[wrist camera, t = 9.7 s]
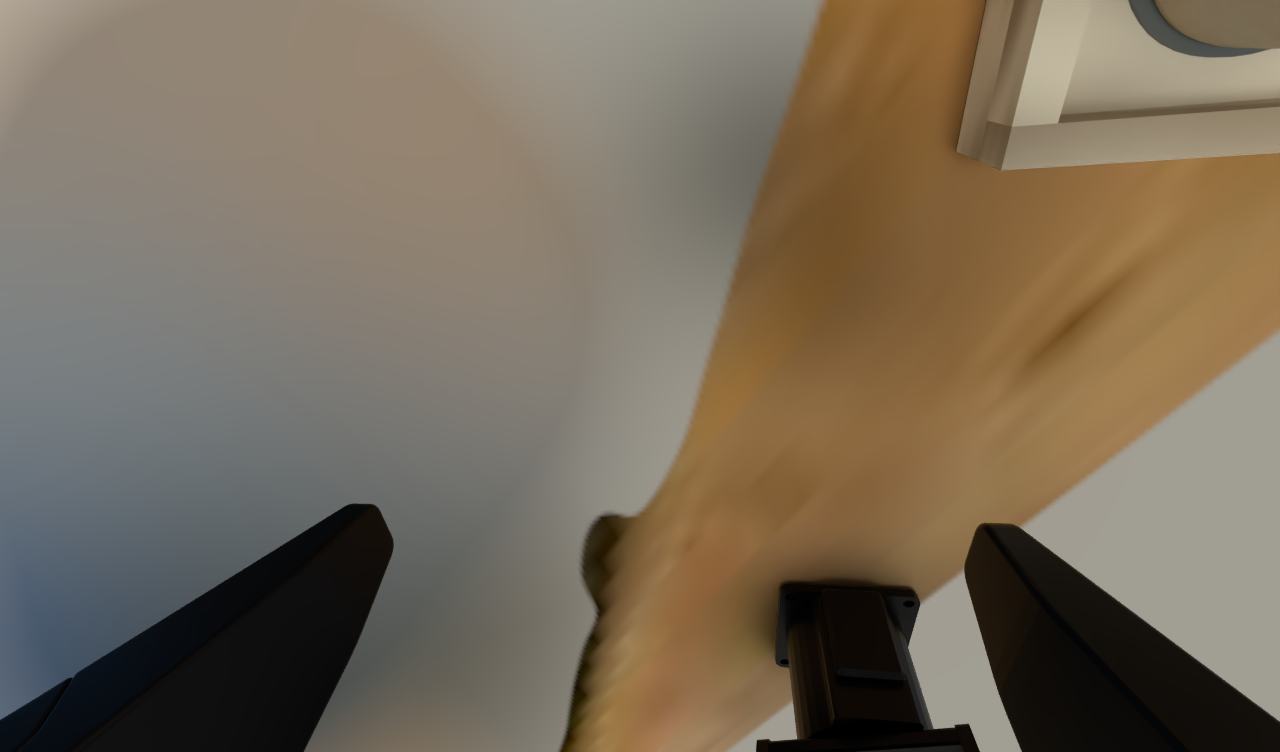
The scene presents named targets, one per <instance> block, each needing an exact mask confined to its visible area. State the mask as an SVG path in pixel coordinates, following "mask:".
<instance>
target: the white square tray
mask: <svg viewBox="0 0 1280 752" xmlns="http://www.w3.org/2000/svg"><path fill="white" fill-rule="evenodd" d="M956 152H958V153H961V154H963V155H966V156H968V157H970V158H973V159H975V160H977V161H980V162H982V163H985V164H987V165H989V166H992V167H994V168H997V169H999V170H1016V169H1032V168H1048V167H1063V166H1079V165H1095V164H1111V163H1127V162H1142V161H1158V160H1174V159H1190V158H1205V157H1221V156H1237V155H1253V154H1269V153H1280V49H1261V48H1232V47H1220V46H1216V45H1212V44H1208V43H1204V42H1200V41H1197V40H1194V39H1192V38H1190V37H1188V36H1185V35H1183V34H1182V33H1181V32H1179V31H1178V30H1176V29H1175V28H1173V27H1172V26H1171V25H1170V24H1169V23H1168V21H1167V20H1166V19H1165V18H1164V17H1163V16H1162V14H1161V12H1160V11H1159V9H1158V8H1157V6H1156V4H1155V1H1154V0H987V1H986V6H985V11H984V16H983V21H982V26H981V31H980V36H979V41H978V46H977V51H976V56H975V61H974V66H973V71H972V76H971V81H970V86H969V90H968V95H967V100H966V105H965V110H964V115H963V120H962V125H961V130H960V135H959V140H958V145H957V150H956Z"/></svg>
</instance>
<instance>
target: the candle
mask: <svg viewBox="0 0 1280 752" xmlns="http://www.w3.org/2000/svg"><path fill="white" fill-rule="evenodd" d="M1154 1H1155V4H1156V6H1157V8H1158V9H1159V11H1160V12H1161V14H1162V16H1163V17H1164V18H1165V19H1166V20H1167V21H1168V23H1169V24H1170V25H1171V26H1172V27H1173V28H1175V29H1176V30H1178V31H1179V32H1181V33H1182V34H1183V35H1185V36H1188V37H1190V38H1192V39H1194V40H1197V41H1200V42H1204V43H1208V44H1212V45H1216V46H1220V47H1232V48H1261V49H1280V0H1154Z"/></svg>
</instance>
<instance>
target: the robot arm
mask: <svg viewBox="0 0 1280 752" xmlns="http://www.w3.org/2000/svg"><path fill="white" fill-rule="evenodd" d="M393 545H394V543H393V538H392V535H391V533H390V531H389V529H388V527H387V524H386V522H385V520H384V518H383V516H382V514H381V512H380V510H379V508H378V507H376V506H375V505H373V504H349V505H347V506H345V507H343V508H341V509H340V510H338V511H337V512H335V513H333V514H332V515H331V516H329V517H327V518H325V519H324V520H322V521H321V522H319V523H317V524H316V525H314V526H313V527H311V528H309V529H308V530H306V531H304V532H303V533H301V534H300V535H298V536H296V537H295V538H293V539H291V540H290V541H288V542H287V543H285V544H283V545H282V546H280V547H279V548H277V549H275V550H274V551H273V552H271V553H269V554H267V555H266V556H264V557H262V558H261V559H259V560H258V561H256V562H255V563H253V564H252V565H250V566H248V567H246V568H245V569H243V570H242V571H240V572H239V573H237V574H235V575H234V576H232V577H230V578H229V579H227V580H225V581H224V582H222V583H221V584H219V585H217V586H216V587H214V588H213V589H211V590H209V591H208V592H206V593H205V594H203V595H201V596H200V597H198V598H196V599H195V600H193V601H192V602H190V603H188V604H187V605H185V606H184V607H182V608H181V609H179V610H177V611H176V612H174V613H172V614H171V615H169V616H167V617H166V618H164V619H163V620H161V621H160V622H158V623H156V624H155V625H153V626H151V627H150V628H148V629H147V630H145V631H143V632H142V633H140V634H139V635H137V636H135V637H134V638H132V639H130V640H129V641H127V642H126V643H124V644H123V645H121V646H119V647H118V648H116V649H114V650H113V651H111V652H110V653H108V654H106V655H105V656H103V657H101V658H100V659H98V660H97V661H95V662H93V663H92V664H90V665H89V666H87V667H85V668H84V669H82V670H81V671H79V672H77V674H75V676H74V677H73V678H68V679H66V680H64V681H63V682H61V683H59V684H58V685H56V686H55V687H53V688H51V689H50V690H48V691H47V692H45V693H43V694H42V695H40V696H39V697H37V698H36V699H34V700H32V701H31V702H29V703H27V704H26V705H24V706H22V707H21V708H19V709H17V710H16V711H14V712H13V713H11V714H9V715H8V716H6V717H4V718H3V719H1V720H0V752H304V750H305V749H306V746H307V744H308V742H309V740H310V738H311V736H312V734H313V732H314V730H315V728H316V726H317V724H318V722H319V720H320V718H321V716H322V714H323V712H324V710H325V708H326V706H327V704H328V702H329V700H330V698H331V696H332V694H333V692H334V690H335V688H336V686H337V684H338V682H339V680H340V678H341V676H342V674H343V672H344V670H345V668H346V666H347V664H348V662H349V660H350V658H351V656H352V654H353V651H354V649H355V647H356V645H357V643H358V640H359V637H360V635H361V633H362V631H363V628H364V626H365V623H366V620H367V618H368V615H369V613H370V610H371V607H372V605H373V602H374V600H375V597H376V595H377V592H378V589H379V587H380V584H381V582H382V579H383V576H384V574H385V571H386V569H387V566H388V564H389V561H390V558H391V556H392V552H393ZM964 570H965V579H966V583H967V586H968V590H969V593H970V597H971V600H972V604H973V607H974V611H975V614H976V617H977V621H978V625H979V628H980V632H981V635H982V639H983V642H984V645H985V649H986V652H987V656H988V659H989V663H990V666H991V670H992V673H993V677H994V679H995V683H996V686H997V689H998V692H999V695H1000V697H1001V700H1002V703H1003V706H1004V709H1005V711H1006V714H1007V716H1008V719H1009V721H1010V724H1011V726H1012V729H1013V731H1014V733H1015V736H1016V739H1017V741H1018V743H1019V746H1020V748H1021V750H1022V752H1280V721H1278V720H1277V719H1276V718H1274V717H1273V716H1271V715H1270V714H1269V713H1268V712H1266V711H1265V710H1263V709H1262V708H1261V707H1259V706H1258V705H1257V704H1255V703H1254V702H1253V701H1251V700H1250V699H1249V698H1247V697H1246V696H1245V695H1243V694H1242V693H1241V692H1239V691H1238V690H1237V689H1235V688H1234V687H1233V686H1231V685H1230V684H1229V683H1227V682H1226V681H1225V680H1223V679H1222V678H1221V677H1219V676H1218V675H1216V674H1215V673H1214V672H1213V671H1211V670H1210V669H1208V668H1207V667H1206V666H1205V665H1203V664H1202V663H1201V662H1199V661H1198V660H1197V659H1195V658H1194V657H1192V656H1191V655H1190V654H1188V653H1187V652H1186V651H1184V650H1183V649H1182V648H1180V647H1179V646H1178V645H1176V644H1175V643H1174V642H1172V641H1171V640H1170V639H1168V638H1167V637H1166V636H1164V635H1163V634H1162V633H1160V632H1159V631H1158V630H1156V629H1155V628H1153V627H1152V626H1151V625H1149V624H1148V623H1147V622H1145V621H1144V620H1143V619H1142V618H1140V617H1139V616H1138V615H1136V614H1135V613H1134V612H1132V611H1131V610H1129V609H1128V608H1127V607H1125V606H1124V605H1123V604H1121V603H1120V602H1119V601H1117V600H1116V599H1115V598H1113V597H1112V596H1111V595H1109V594H1108V593H1107V592H1105V591H1104V590H1103V589H1101V588H1100V587H1098V586H1097V585H1096V584H1095V583H1093V582H1092V581H1091V580H1089V579H1088V578H1087V577H1085V576H1084V575H1083V574H1081V573H1080V572H1078V571H1077V570H1076V569H1074V568H1073V567H1072V566H1071V565H1069V564H1067V563H1066V562H1065V561H1064V560H1062V559H1061V558H1060V557H1058V556H1057V555H1056V554H1054V553H1053V552H1052V551H1050V550H1049V549H1048V548H1046V547H1045V546H1044V545H1042V544H1041V543H1040V542H1038V541H1037V540H1036V539H1034V538H1033V537H1032V536H1030V535H1029V534H1028V533H1026V532H1025V531H1024V530H1022V529H1021V528H1019V527H1018V526H1015V525H1013V524H1004V523H983V524H980V525H979V526H978V527H977V529H976V531H975V534H974V537H973V540H972V543H971V546H970V549H969V552H968V555H967V558H966V561H965V568H964ZM919 607H920V601H919V598H918V595H917V594H916V592H914V591H911V590H900V589H880V588H860V587H841V586H821V585H801V584H785V585H783V586H781V587H780V590H779V602H778V616H777V630H776V644H775V662H776V664H777V665H779V666H781V667H789V669H790V678H791V687H792V696H793V705H794V714H795V722H796V732H797V740H796V739H795V740H783V741H770V740H769V739H764V740H757V746H756V752H980V751H979V749H978V746H977V744H976V741H975V738H974V736H973V733H972V731H971V728H970V726H969V724H961V725H955V728H943V729H933V726H932V722H931V719H930V716H929V713H928V710H927V707H926V703H925V700H924V697H923V694H922V691H921V688H920V685H919V681H918V678H917V675H916V672H915V668H914V666H913V662H912V659H911V656H910V653H909V650H908V645H909V641H910V638H911V635H912V631H913V628H914V624H915V621H916V617H917V614H918V610H919Z"/></svg>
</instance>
